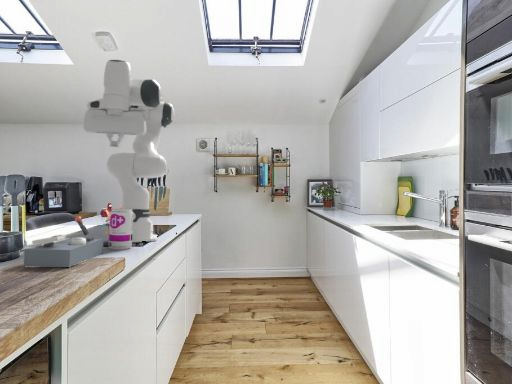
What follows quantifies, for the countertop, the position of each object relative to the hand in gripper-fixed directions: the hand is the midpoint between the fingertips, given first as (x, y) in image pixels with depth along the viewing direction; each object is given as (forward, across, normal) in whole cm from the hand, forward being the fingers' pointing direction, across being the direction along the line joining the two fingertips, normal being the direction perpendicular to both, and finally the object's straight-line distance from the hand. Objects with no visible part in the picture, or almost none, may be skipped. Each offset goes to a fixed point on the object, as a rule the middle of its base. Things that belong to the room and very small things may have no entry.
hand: (114, 146), depth 108 cm
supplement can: (+37, +1, -12) cm, 39 cm away
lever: (+31, +6, +4) cm, 31 cm away
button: (+34, +6, +10) cm, 36 cm away
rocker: (+30, +12, +16) cm, 36 cm away
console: (+37, +9, +10) cm, 39 cm away
